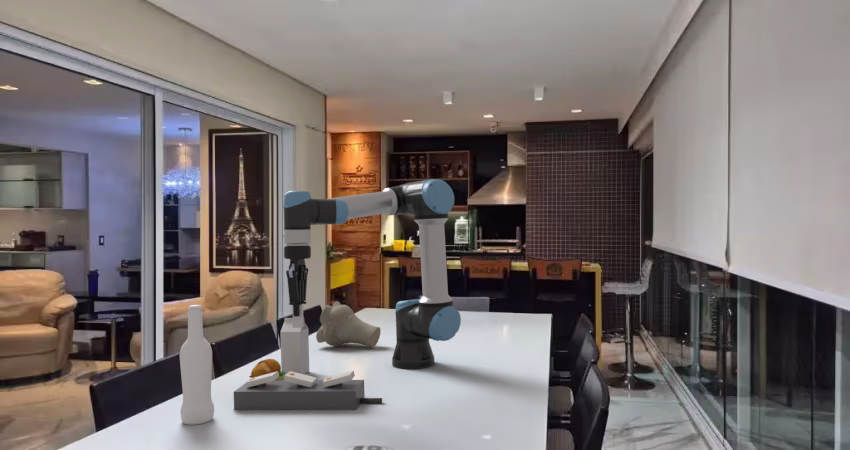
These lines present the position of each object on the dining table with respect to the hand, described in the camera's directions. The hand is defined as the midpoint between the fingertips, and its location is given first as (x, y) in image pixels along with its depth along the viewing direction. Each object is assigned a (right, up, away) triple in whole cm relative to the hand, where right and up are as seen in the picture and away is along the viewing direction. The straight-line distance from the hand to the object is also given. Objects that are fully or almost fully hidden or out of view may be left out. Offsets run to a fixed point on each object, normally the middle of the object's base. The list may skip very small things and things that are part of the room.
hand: (298, 327), depth 170 cm
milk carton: (-8, -22, +32) cm, 40 cm away
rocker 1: (-10, -15, -2) cm, 18 cm away
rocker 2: (+1, -14, -2) cm, 14 cm away
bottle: (-23, -22, -16) cm, 35 cm away
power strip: (+4, -21, -3) cm, 22 cm away
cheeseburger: (-12, -22, +15) cm, 29 cm away
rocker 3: (+12, -14, -3) cm, 19 cm away
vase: (+6, -22, +76) cm, 79 cm away
